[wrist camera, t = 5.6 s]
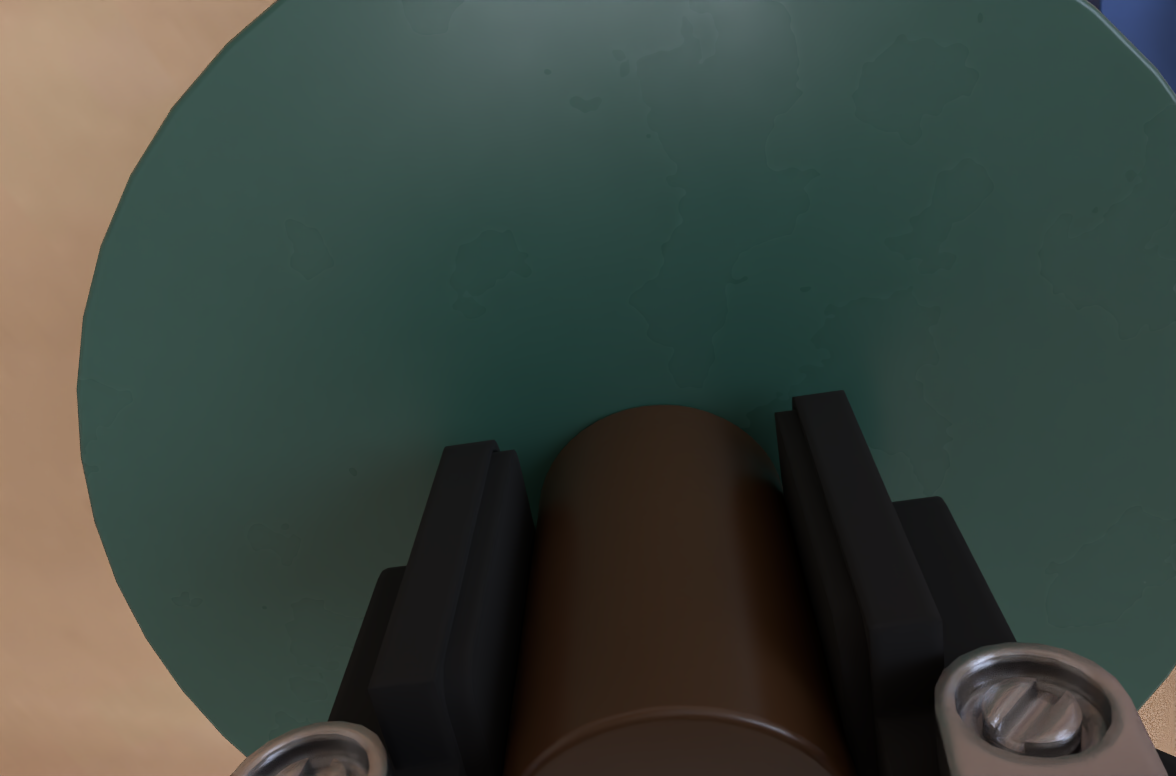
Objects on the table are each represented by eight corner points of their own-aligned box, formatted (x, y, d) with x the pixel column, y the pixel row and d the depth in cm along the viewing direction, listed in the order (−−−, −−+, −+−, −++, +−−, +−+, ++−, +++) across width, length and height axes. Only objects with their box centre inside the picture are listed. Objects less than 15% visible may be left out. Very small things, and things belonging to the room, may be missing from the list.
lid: (1272, -268, 10) (2072, -448, 4) (1183, 794, 15) (1485, 1288, 10) (-67, -3, 11) (-717, 107, 6) (300, 883, 17) (145, 1359, 11)
